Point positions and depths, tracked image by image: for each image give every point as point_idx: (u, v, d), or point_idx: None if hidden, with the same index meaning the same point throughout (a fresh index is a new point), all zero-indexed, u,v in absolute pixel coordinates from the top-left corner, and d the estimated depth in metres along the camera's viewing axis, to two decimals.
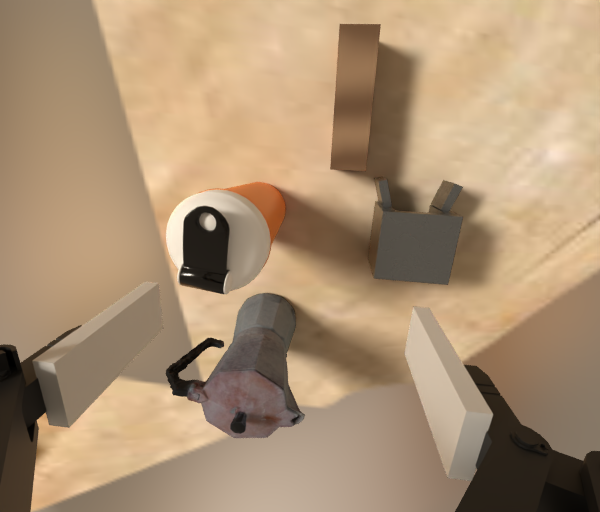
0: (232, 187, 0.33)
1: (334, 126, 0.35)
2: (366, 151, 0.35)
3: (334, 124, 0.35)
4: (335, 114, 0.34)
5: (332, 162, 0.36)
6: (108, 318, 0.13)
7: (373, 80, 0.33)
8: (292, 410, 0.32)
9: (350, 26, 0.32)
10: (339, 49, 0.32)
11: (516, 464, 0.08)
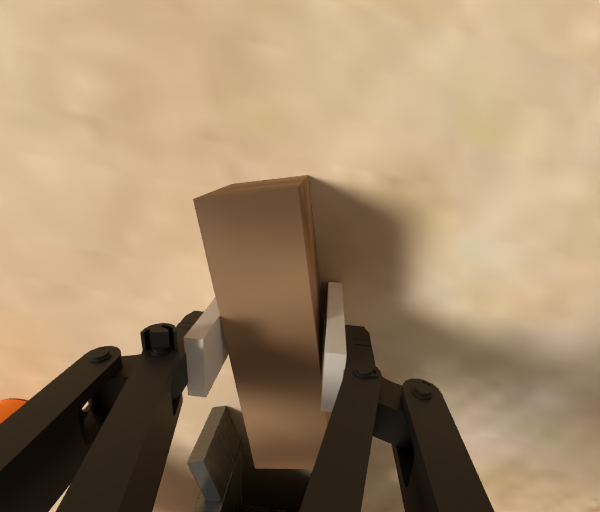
0: None
1: (242, 398, 0.15)
2: None
3: (240, 395, 0.15)
4: (237, 377, 0.15)
5: (256, 457, 0.16)
6: None
7: (309, 308, 0.13)
8: None
9: (221, 201, 0.12)
10: (208, 253, 0.13)
11: (359, 391, 0.10)
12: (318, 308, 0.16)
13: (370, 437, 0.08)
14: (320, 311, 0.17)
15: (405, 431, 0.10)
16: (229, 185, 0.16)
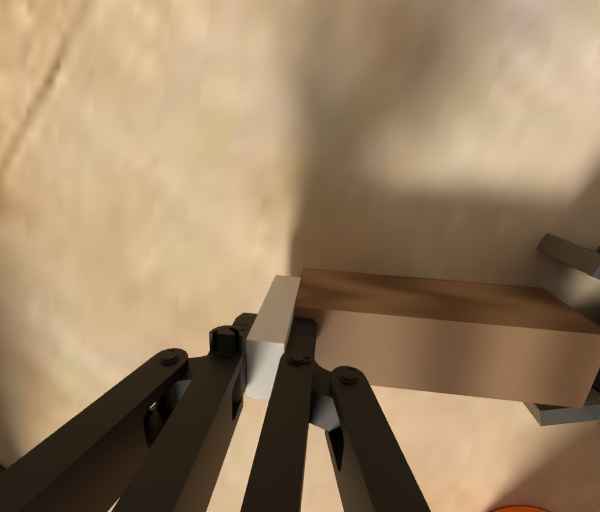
0: None
1: (483, 394, 0.15)
2: (561, 334, 0.14)
3: (479, 394, 0.15)
4: (458, 391, 0.15)
5: (566, 403, 0.15)
6: (274, 306, 0.15)
7: (400, 319, 0.14)
8: None
9: None
10: None
11: (294, 378, 0.10)
12: (416, 296, 0.17)
13: (306, 419, 0.09)
14: (425, 290, 0.17)
15: (335, 418, 0.10)
16: None
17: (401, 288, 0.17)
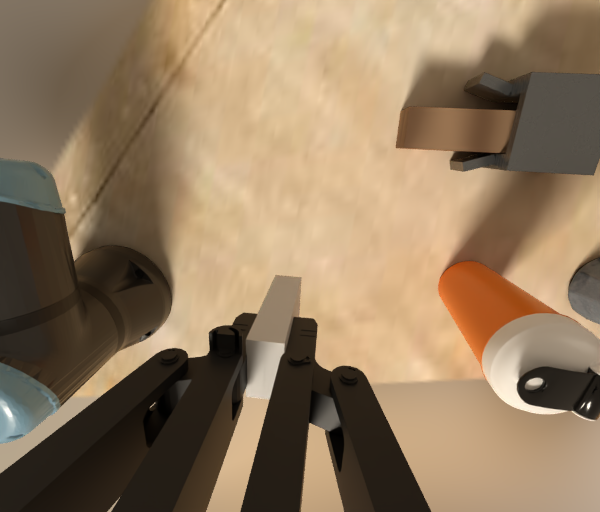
0: (462, 326, 0.34)
1: (497, 151, 0.33)
2: None
3: (495, 151, 0.33)
4: (485, 150, 0.33)
5: None
6: (274, 306, 0.15)
7: (459, 110, 0.32)
8: None
9: (407, 137, 0.33)
10: (425, 147, 0.33)
11: (294, 378, 0.10)
12: None
13: (307, 419, 0.09)
14: None
15: (336, 418, 0.10)
16: (396, 147, 0.37)
17: None
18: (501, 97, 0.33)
